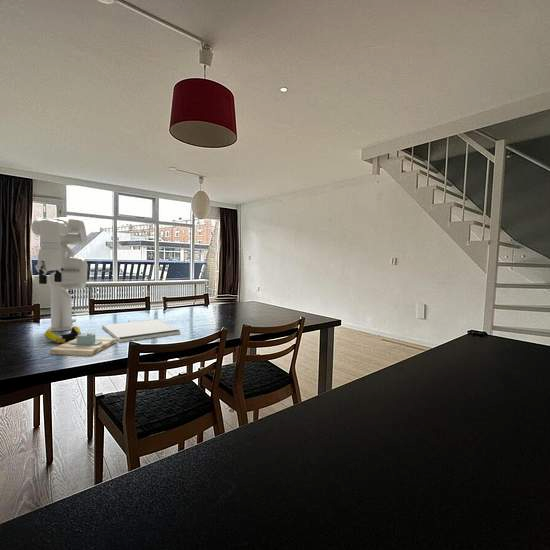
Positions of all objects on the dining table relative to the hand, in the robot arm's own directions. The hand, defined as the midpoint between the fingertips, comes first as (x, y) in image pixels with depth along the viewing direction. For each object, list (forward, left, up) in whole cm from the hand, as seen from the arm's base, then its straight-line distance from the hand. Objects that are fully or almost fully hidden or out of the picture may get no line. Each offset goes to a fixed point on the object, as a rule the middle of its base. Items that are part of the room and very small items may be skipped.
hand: (50, 282), depth 150 cm
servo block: (+7, +21, -28) cm, 36 cm away
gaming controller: (-3, +5, -29) cm, 29 cm away
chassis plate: (+7, +21, -28) cm, 36 cm away
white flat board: (-27, +31, -29) cm, 50 cm away
